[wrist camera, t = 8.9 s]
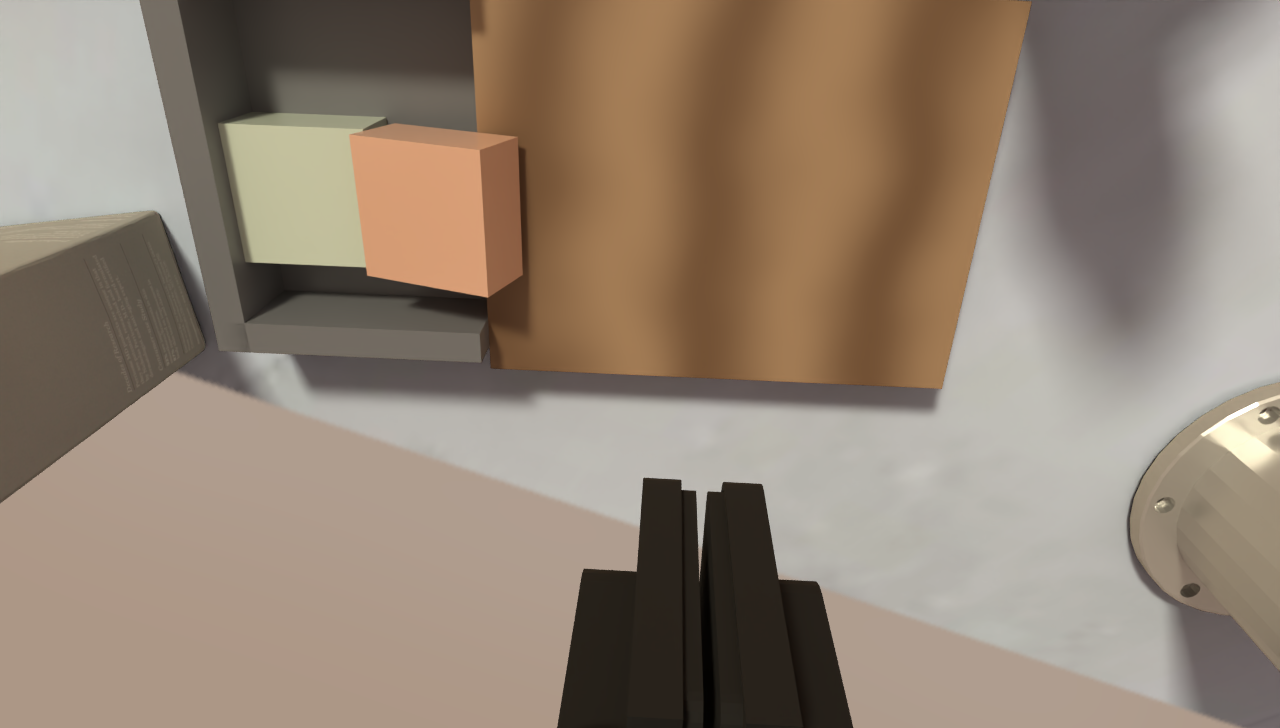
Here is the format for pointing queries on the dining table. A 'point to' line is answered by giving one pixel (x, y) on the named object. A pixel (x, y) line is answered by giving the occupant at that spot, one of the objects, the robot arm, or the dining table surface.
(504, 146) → the tile
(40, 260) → the skincare box
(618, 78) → the walnut plate
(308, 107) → the box
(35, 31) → the dining table surface
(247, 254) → the tile
